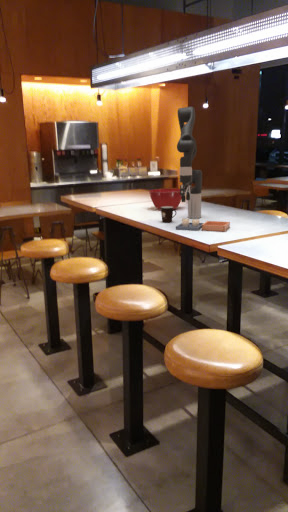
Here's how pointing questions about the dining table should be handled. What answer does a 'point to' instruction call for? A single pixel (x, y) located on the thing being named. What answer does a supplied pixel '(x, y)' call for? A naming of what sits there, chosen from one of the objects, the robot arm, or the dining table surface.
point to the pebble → (195, 223)
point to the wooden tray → (215, 226)
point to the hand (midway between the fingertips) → (185, 200)
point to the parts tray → (189, 227)
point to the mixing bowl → (165, 197)
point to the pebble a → (185, 222)
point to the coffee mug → (167, 214)
